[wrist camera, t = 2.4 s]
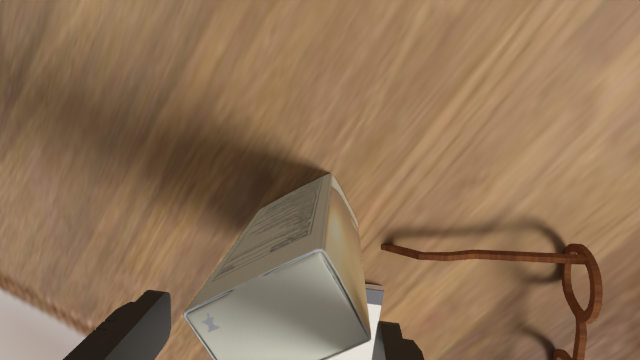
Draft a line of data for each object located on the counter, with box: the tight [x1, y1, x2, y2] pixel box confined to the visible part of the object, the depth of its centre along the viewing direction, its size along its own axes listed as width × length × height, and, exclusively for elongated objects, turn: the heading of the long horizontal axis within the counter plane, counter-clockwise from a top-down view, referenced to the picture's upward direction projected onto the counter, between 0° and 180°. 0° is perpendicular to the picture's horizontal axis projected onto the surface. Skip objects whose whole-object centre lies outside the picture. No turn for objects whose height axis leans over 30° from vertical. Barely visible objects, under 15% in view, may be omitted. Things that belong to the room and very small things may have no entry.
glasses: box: [381, 244, 602, 360], centre depth 23 cm, size 13×13×5 cm
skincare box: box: [183, 174, 371, 360], centre depth 18 cm, size 6×4×12 cm
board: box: [328, 284, 384, 360], centre depth 26 cm, size 12×10×1 cm
